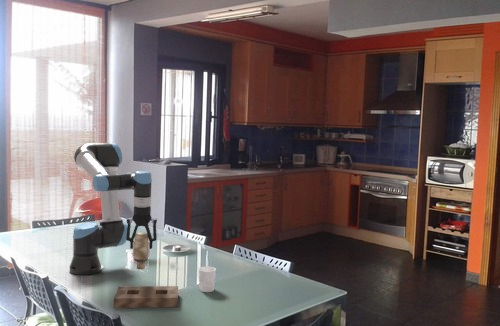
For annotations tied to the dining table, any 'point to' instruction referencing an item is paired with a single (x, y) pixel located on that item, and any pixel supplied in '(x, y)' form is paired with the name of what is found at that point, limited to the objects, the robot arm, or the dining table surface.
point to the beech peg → (141, 249)
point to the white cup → (207, 278)
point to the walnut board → (146, 296)
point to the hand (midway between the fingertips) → (141, 255)
